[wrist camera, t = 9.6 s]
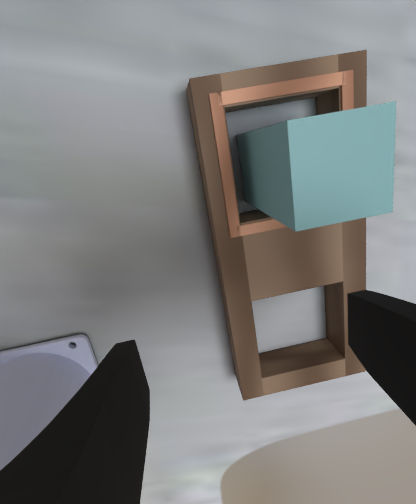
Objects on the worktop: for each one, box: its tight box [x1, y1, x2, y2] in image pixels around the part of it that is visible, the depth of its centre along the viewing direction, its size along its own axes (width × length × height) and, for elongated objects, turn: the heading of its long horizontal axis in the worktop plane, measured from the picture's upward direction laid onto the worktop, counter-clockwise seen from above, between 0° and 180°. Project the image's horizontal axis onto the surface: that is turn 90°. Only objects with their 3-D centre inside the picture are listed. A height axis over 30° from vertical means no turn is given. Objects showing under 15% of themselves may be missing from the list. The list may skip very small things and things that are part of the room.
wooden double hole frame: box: [187, 50, 367, 400], centre depth 19 cm, size 9×20×3 cm, turn 10°
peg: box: [237, 101, 396, 232], centre depth 15 cm, size 4×4×8 cm
